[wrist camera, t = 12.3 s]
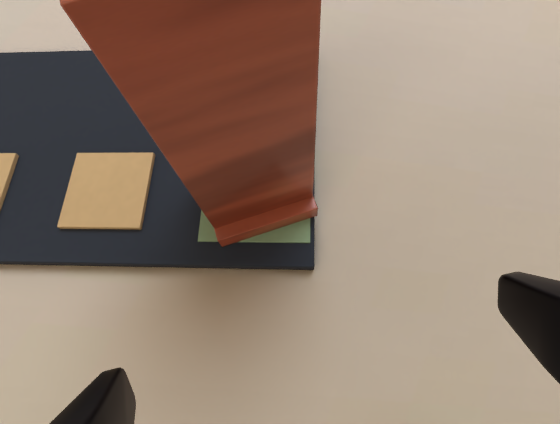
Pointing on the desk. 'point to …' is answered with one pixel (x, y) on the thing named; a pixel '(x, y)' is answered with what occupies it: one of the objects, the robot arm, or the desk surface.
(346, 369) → the desk surface
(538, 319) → the robot arm
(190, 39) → the reddish brown square pillar
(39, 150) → the dark blue mat
